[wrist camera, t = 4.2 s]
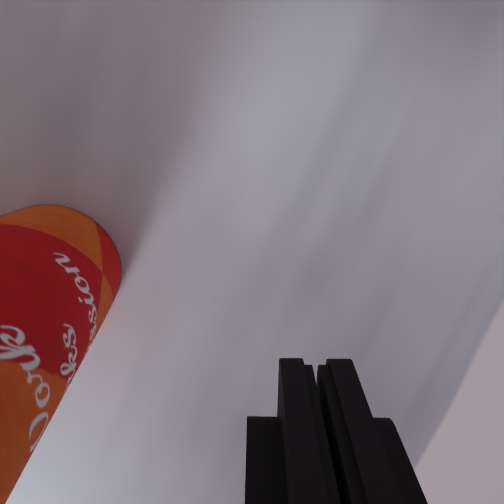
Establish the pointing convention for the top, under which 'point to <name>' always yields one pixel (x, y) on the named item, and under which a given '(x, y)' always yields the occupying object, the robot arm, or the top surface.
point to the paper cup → (46, 318)
